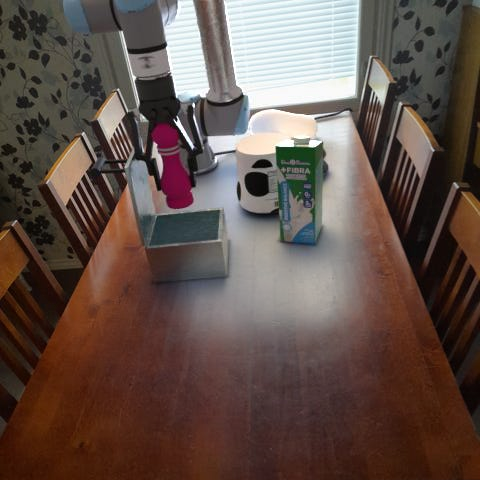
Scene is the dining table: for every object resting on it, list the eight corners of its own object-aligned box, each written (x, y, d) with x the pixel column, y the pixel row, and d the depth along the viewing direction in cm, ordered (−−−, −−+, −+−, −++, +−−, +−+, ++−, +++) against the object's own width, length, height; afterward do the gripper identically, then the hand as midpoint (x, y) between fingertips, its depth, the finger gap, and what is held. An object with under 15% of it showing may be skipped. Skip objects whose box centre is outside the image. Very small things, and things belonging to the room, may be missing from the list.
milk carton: (322, 226, 121) (323, 130, 104) (314, 244, 115) (315, 146, 98) (289, 223, 124) (285, 130, 107) (280, 241, 117) (275, 145, 101)
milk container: (254, 187, 142) (249, 128, 129) (306, 194, 134) (305, 133, 122) (228, 214, 131) (219, 153, 119) (283, 223, 124) (280, 159, 112)
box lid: (141, 137, 102) (99, 139, 103) (128, 167, 91) (80, 169, 91) (155, 212, 115) (117, 213, 115) (145, 246, 103) (103, 248, 103)
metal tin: (228, 240, 120) (223, 207, 114) (227, 276, 109) (221, 241, 102) (162, 246, 122) (154, 213, 115) (154, 282, 110) (144, 248, 103)
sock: (318, 108, 163) (320, 128, 155) (315, 134, 171) (317, 154, 163) (249, 108, 165) (247, 127, 156) (249, 133, 172) (247, 153, 164)
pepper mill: (165, 197, 107) (144, 109, 94) (195, 193, 107) (179, 104, 94) (164, 212, 102) (142, 120, 88) (196, 208, 102) (178, 115, 88)
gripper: (97, 86, 84) (130, 199, 100) (203, 73, 83) (220, 190, 98) (106, 75, 90) (136, 183, 105) (206, 63, 88) (222, 174, 104)
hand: (177, 186), depth 102 cm, fingers closed on pepper mill, 7 cm apart
